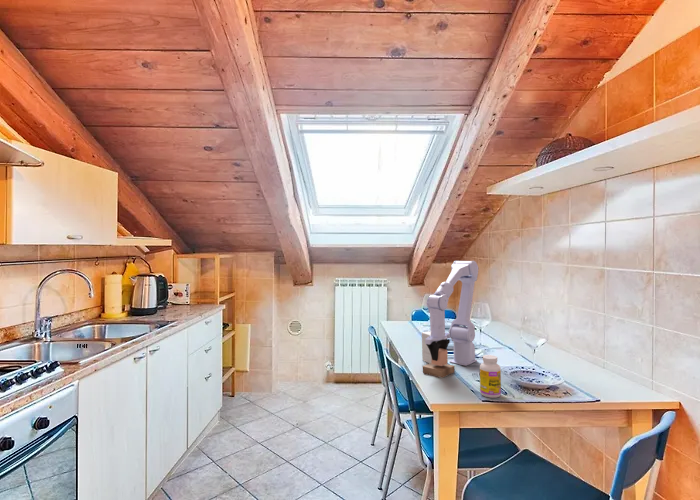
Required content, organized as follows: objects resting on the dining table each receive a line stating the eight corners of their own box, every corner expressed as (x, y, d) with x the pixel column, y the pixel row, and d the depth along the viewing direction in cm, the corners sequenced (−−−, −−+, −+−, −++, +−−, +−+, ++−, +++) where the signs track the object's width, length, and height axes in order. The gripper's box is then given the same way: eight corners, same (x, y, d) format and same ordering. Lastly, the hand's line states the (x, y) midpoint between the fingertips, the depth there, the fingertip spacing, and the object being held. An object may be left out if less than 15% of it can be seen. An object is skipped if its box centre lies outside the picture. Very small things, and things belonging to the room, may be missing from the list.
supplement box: (445, 362, 168) (445, 333, 168) (431, 364, 165) (430, 335, 165) (435, 358, 175) (435, 330, 175) (421, 360, 172) (421, 332, 172)
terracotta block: (438, 361, 158) (437, 347, 158) (447, 363, 155) (447, 349, 155) (431, 363, 155) (431, 349, 155) (441, 366, 152) (441, 352, 152)
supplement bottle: (488, 399, 127) (487, 360, 127) (476, 392, 133) (475, 355, 133) (505, 397, 129) (504, 358, 129) (493, 390, 135) (492, 353, 135)
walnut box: (435, 368, 162) (435, 361, 162) (454, 373, 155) (454, 365, 155) (422, 373, 156) (422, 366, 156) (442, 378, 149) (441, 371, 149)
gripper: (435, 329, 147) (436, 364, 147) (456, 323, 157) (457, 356, 157) (420, 326, 153) (421, 361, 153) (441, 321, 162) (442, 353, 163)
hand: (438, 358), depth 155 cm, fingers closed on terracotta block, 4 cm apart
